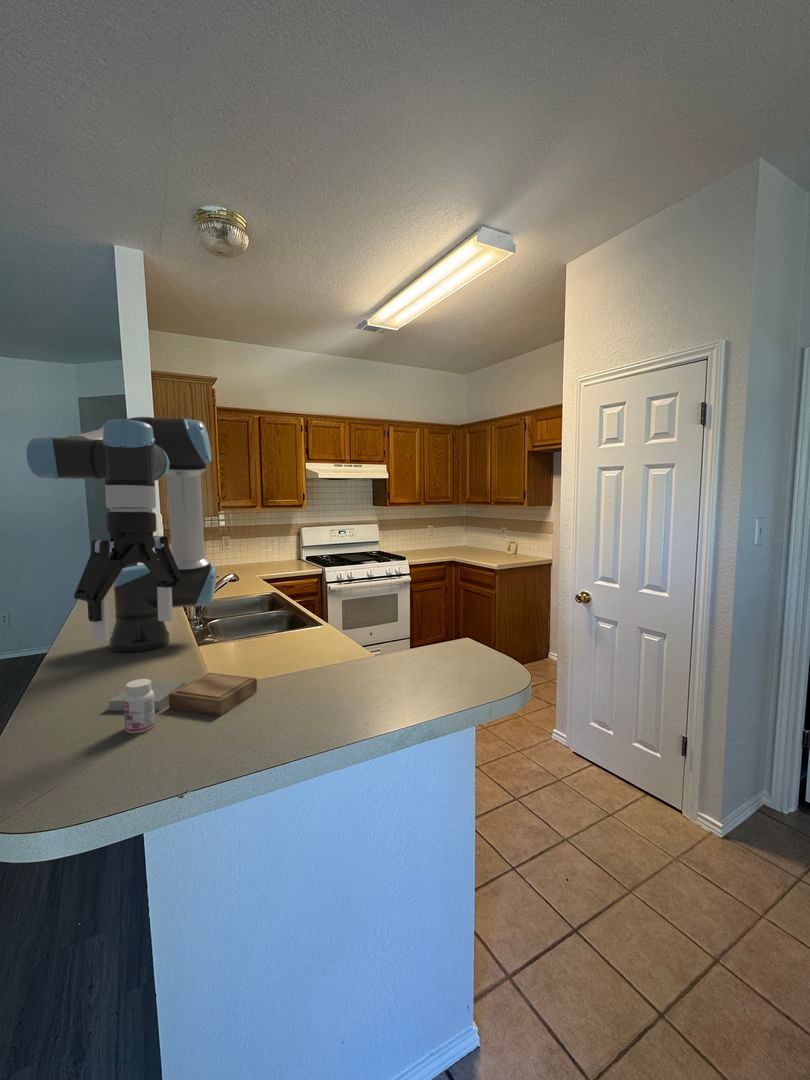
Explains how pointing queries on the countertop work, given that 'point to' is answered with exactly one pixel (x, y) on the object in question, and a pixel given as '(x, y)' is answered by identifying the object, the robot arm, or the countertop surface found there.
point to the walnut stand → (213, 694)
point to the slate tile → (160, 695)
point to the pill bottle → (139, 706)
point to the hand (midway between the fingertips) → (135, 629)
